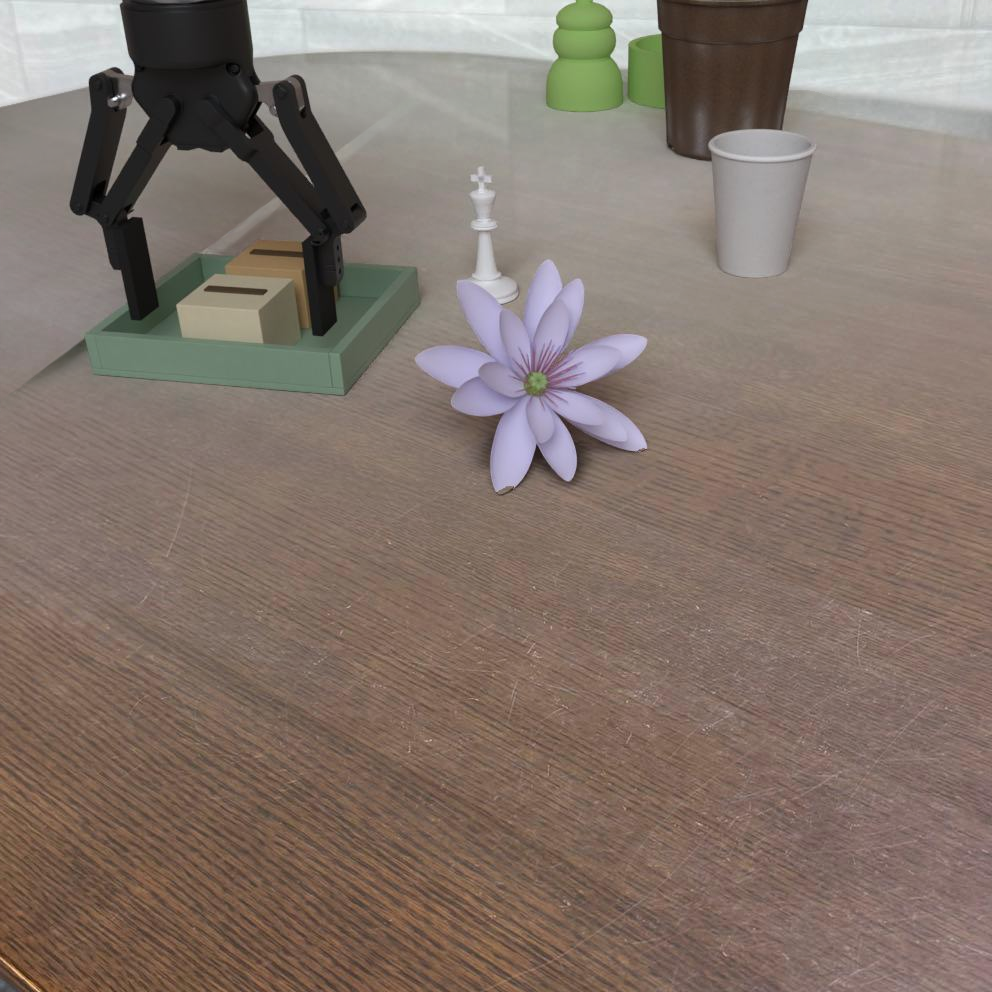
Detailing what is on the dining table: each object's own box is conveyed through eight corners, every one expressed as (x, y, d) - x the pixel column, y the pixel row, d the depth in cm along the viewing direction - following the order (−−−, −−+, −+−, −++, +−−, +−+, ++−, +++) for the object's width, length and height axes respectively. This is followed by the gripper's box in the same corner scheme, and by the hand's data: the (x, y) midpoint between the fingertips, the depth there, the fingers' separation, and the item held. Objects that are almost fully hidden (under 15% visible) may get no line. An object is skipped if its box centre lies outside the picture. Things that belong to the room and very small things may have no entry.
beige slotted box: (187, 365, 83) (175, 302, 81) (225, 332, 88) (214, 271, 86) (267, 372, 82) (257, 308, 80) (301, 338, 87) (293, 276, 85)
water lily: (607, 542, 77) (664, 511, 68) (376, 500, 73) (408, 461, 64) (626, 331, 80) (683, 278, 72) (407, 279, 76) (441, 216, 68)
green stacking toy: (723, 79, 157) (729, -26, 151) (761, 104, 145) (769, -9, 139) (536, 91, 154) (533, -16, 147) (559, 119, 142) (557, 3, 135)
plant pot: (785, 173, 121) (801, 0, 112) (630, 162, 126) (634, -6, 117) (809, 133, 134) (824, -25, 125) (667, 124, 138) (673, -29, 130)
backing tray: (93, 374, 84) (83, 334, 82) (201, 288, 97) (194, 252, 96) (344, 395, 80) (339, 354, 78) (420, 303, 94) (417, 266, 92)
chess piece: (504, 309, 92) (499, 178, 87) (446, 302, 94) (437, 173, 88) (527, 286, 96) (524, 160, 91) (470, 280, 98) (464, 155, 92)
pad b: (234, 323, 90) (224, 263, 87) (266, 294, 95) (258, 236, 92) (309, 329, 88) (301, 268, 86) (338, 299, 93) (331, 241, 91)
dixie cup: (690, 277, 97) (696, 151, 92) (716, 244, 104) (723, 125, 98) (793, 289, 95) (805, 160, 89) (813, 254, 101) (826, 132, 96)
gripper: (398, -14, 73) (420, 314, 85) (32, -24, 78) (100, 288, 90) (355, 7, 67) (385, 357, 79) (-39, -5, 72) (44, 327, 83)
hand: (233, 321), depth 84 cm, fingers open, 13 cm apart
